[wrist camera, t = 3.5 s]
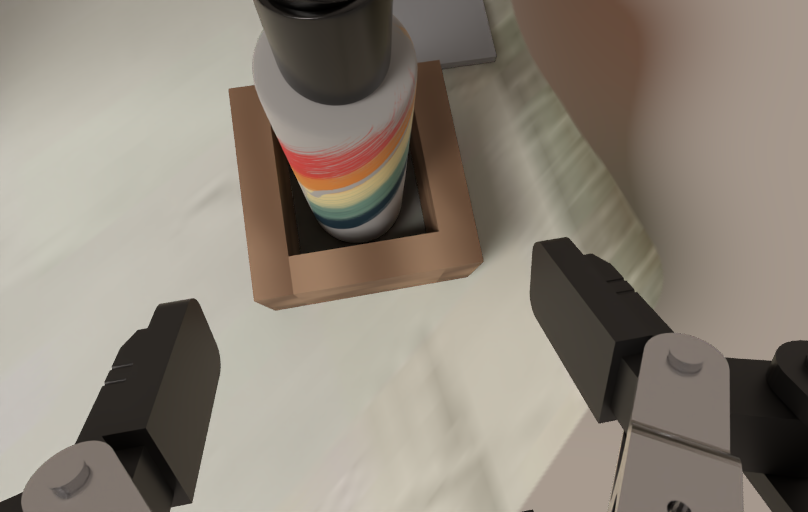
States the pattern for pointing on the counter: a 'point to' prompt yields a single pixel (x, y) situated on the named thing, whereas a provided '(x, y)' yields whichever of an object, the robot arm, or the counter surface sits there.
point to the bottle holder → (367, 263)
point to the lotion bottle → (340, 106)
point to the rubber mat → (447, 31)
